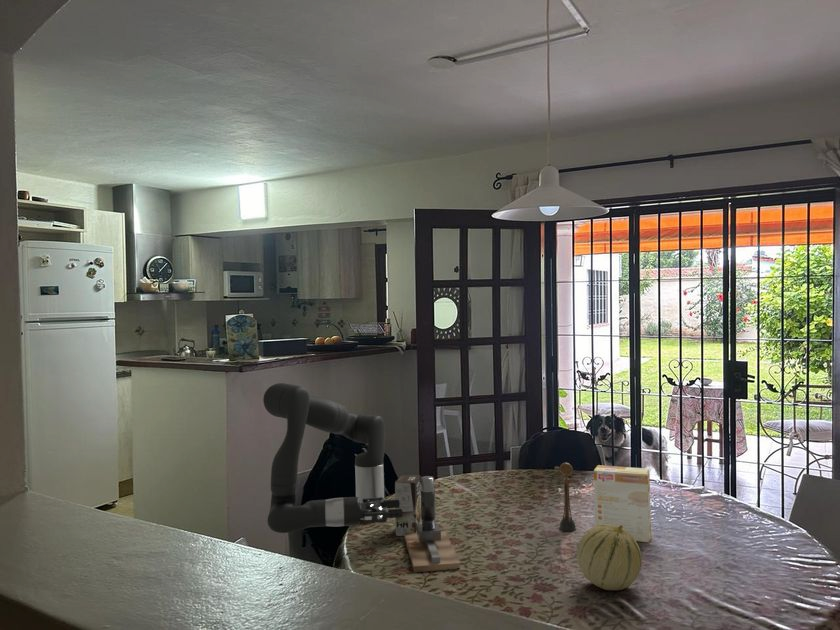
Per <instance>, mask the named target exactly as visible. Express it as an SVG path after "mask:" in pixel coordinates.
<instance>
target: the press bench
mask: <svg viewBox="0 0 840 630" xmlns="http://www.w3.org/2000/svg"><path fill="white" fill-rule="evenodd" d="M404 541H405V546H406V549H407V552H408V556H409V559H410V563H411V566H412V571H413V573H421V572H434V571H436V572H437V571H447V569H450V570H458V569H457V568H460V569H461V562H460V560H459V557H458V556H457V554H456V551H455V549H454V547H453V545H452V543H451V541H450V539H449V537H448V535H447V533H446V530H441V541H429V542H419V539H418V536H417V533H406V534H405V536H404Z"/></svg>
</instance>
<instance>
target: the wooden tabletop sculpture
mask: <svg viewBox="0 0 840 630" xmlns="http://www.w3.org/2000/svg"><path fill="white" fill-rule="evenodd" d="M554 471H558V472H560V473H561V475H563V476H564V478H563V488H564V489H563V491H564V494H563V496H564V497H563V499H564V502H563V503H564V504H563V514H562V518H561V520H560V522H559V530H560V531H563V532H575V531H576V529H577V527H576V523H575V520H574V519H573V517H572V511H571V503H570V501H571V500H570V481H569V480H570V478H568V477H569V476H571V475H572V473H573V471H574V470H573V466H572V465H571V464H570V463H569V462H563V463H561V464H560V466H554Z"/></svg>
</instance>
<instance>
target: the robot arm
mask: <svg viewBox="0 0 840 630" xmlns="http://www.w3.org/2000/svg"><path fill="white" fill-rule="evenodd" d="M309 394H310V393H309V392H308V390H307V388H305V387H303V386H301V385H296V384H290V383H285V382H283V383H282V382H281V383H280V382H279V383H275V384H273V385H271V386H269V387H268V388H267V389H266V391H265V392H264V395H263V399H262V400H263V401H262V402H263V406H264V409H265V410H266V411H267V413H268V414H270V415H272V416H274V417H275V418H276V417H278V418H281V419H285V420H286V421H287V422H286V423H287V424H286V425H287V429H286V433H285V436H284V439H283V442H282V443H281V445H280V446H279V448H278V450H277V451H276V453H275V455H274V458H273V459H272V463H271V470H270V471H271V472H270V492H271V495H270V496H271V498H270V508H269V513H268V516H267V520H266V521H267V525H268V528H269V529H270V530H271V531H273V532H275V533H278V534H279V533H280V534H287V533H293V532H296V531H297V532H298V531H300V530H301V531H302V530H304V529H308V528H316V527H317V528H320V527H322V528H323V527H345V526H346V527H350V526H351V527H352V526H359V525H360V523H361V521H364V523H365V524H369V523H371V524H372V523H386V522H387V520H389V519H396V518H399V517H402V509H395V508H399V506H400V503H399V500H398V499H395V498H394V499H385V477H384V476H385V472H384V457H385V453H386V451H385V449H386V447H385V445H386V444H385V443H386V442H385V441H386V426H385V421H384V419H383V418H382V416H380V415H375V414H356V413H351V412H349V411H348V410H347V408H346V407H345V406H344V405H343V404H341V403H339V402H336V401H334V400H332V399H331V400H330V399H328V398H324V397H319V396H313V395H312V396H311V395H309ZM306 425H308V426H310V427H313V428H314V429H317V430H320V431H323V432H325V433H330V434H334V435H341V436H344V437H345V438H347V439H349V440H351V441H353V442H355V443H359V444H367V450H366V451H364V452H361V453H359V454H357V455H355V458H354V468H355V469H354V470H355V471H354V472H355V476H354V477H355V496H349V497H347V496H345V497H334V498H333V497H332V498H328V499H316V500H314V499H313V500H309V501H306V502H305V503H304V504H301V505H297V504H296V503H297V495H296V493H297V492H296V490H297V484H298V472H299V471H298V469H299V468H298V467H299V460H300V458H299V457H300V451H301V448H302V447H301V446H302V444H303V439H304V438H303V437H304V434H305V428H306Z"/></svg>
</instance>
